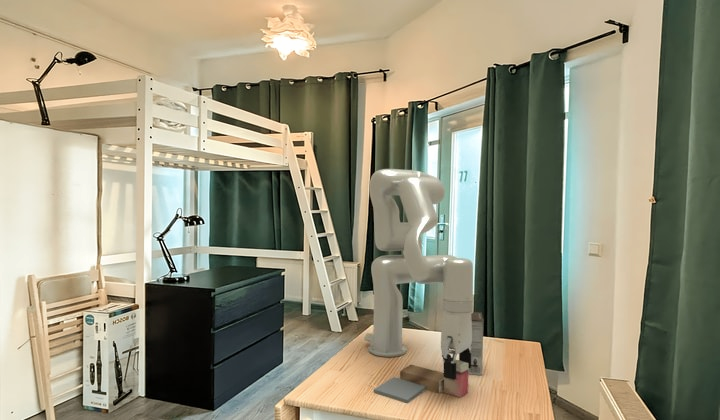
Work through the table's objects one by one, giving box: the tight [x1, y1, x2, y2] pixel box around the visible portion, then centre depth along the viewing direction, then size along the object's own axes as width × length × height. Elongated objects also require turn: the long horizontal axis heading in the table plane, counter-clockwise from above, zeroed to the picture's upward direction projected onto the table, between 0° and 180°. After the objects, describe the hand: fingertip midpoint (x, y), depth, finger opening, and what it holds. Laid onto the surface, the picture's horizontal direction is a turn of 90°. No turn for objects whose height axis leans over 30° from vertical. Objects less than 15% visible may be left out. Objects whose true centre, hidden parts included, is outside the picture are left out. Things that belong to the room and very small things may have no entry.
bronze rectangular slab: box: [399, 364, 444, 394], centre depth 119 cm, size 12×6×3 cm, turn 54°
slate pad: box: [373, 376, 427, 404], centre depth 114 cm, size 10×10×1 cm
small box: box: [443, 359, 469, 398], centre depth 113 cm, size 5×4×8 cm
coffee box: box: [468, 311, 484, 376], centre depth 130 cm, size 9×6×16 cm
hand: (457, 372), depth 113 cm, fingers open, 9 cm apart
